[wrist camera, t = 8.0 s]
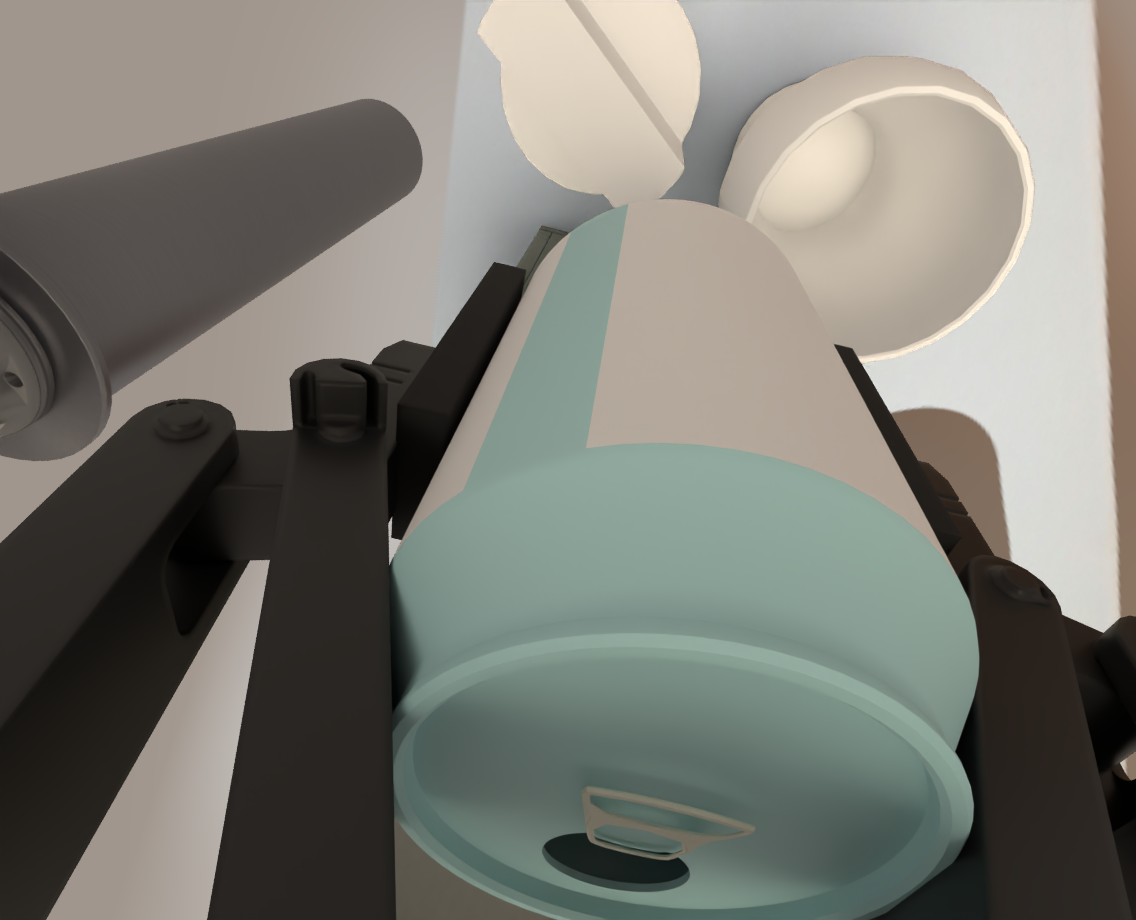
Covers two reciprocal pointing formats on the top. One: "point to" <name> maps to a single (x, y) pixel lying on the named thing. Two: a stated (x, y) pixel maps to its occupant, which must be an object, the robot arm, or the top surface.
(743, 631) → the can
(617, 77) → the base with upright slab
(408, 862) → the bin lid
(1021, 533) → the top surface
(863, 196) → the cup
